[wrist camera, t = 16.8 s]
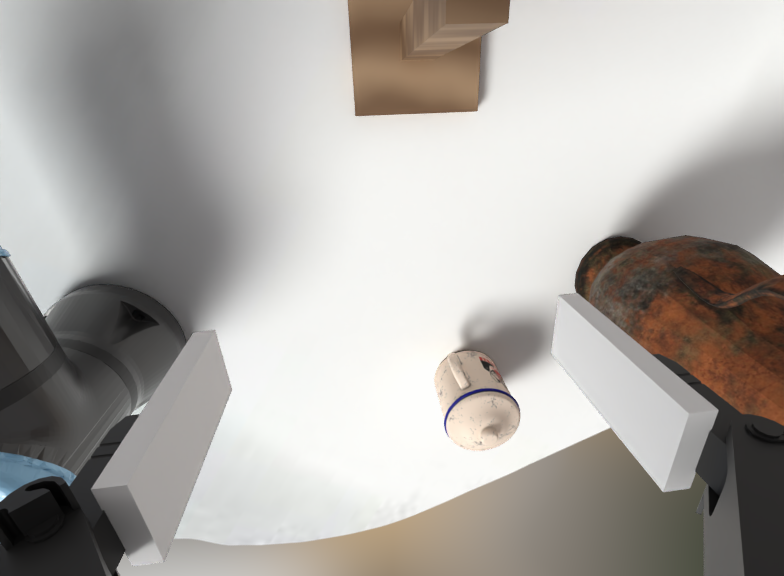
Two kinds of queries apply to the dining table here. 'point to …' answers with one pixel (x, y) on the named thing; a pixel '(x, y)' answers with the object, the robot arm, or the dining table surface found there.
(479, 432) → the teacup with lid
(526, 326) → the dining table surface
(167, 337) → the robot arm
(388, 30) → the hook stand
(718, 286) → the pitcher
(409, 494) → the dining table surface
